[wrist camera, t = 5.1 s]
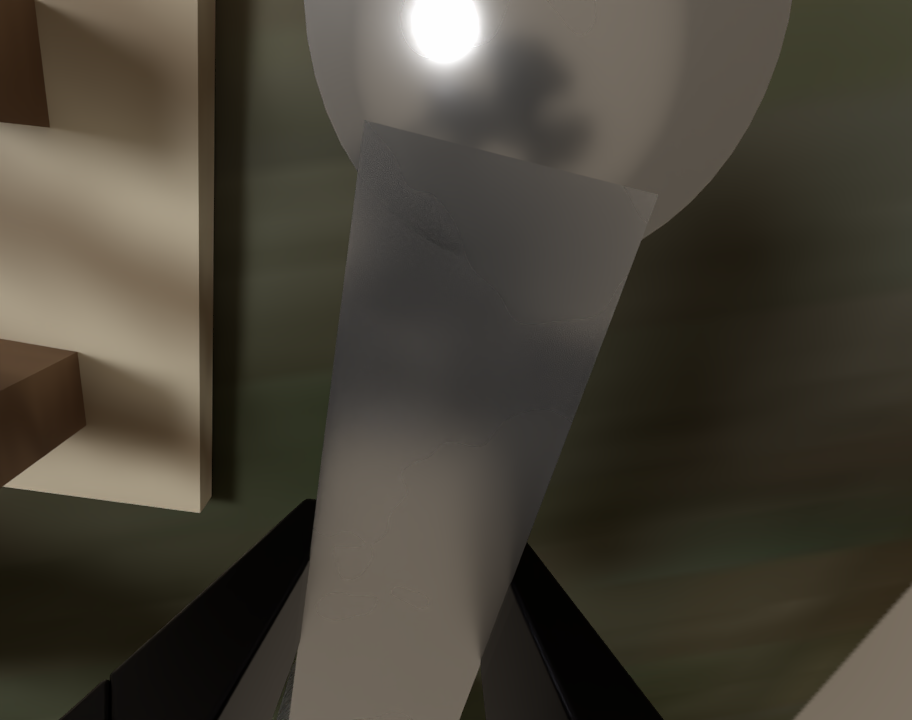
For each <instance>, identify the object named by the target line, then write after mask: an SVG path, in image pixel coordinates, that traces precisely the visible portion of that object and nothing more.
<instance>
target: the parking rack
mask: <svg viewBox="0 0 912 720" xmlns="http://www.w3.org/2000/svg"><path fill="white" fill-rule="evenodd" d="M214 120H215V0H0V488H1V487H10V488H18V489H25V490H32V491H40V492H47V493H55V494H62V495H70V496H77V497H85V498H92V499H99V500H107V501H114V502H122V503H129V504H137V505H144V506H152V507H159V508H166V509H174V510H181V511H189V512H196V513H201V511H202V510H203V508H204V507H205V505H206V504H207V502H208V501H209V500H210V498H211V497H212V382H213V251H214Z"/></svg>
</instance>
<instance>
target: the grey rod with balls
mask: <svg viewBox="0 0 912 720" xmlns="http://www.w3.org/2000/svg"><path fill="white" fill-rule="evenodd" d="M791 3H792V0H304V6H305V17H306V28H307V39H308V44H309V49H310V53H311V58H312V63H313V68H314V73H315V77H316V81H317V84H318V87H319V90H320V93H321V96H322V100H323V103H324V106H325V109H326V112H327V114H328V116H329V118H330V121H331V123H332V125H333V127H334V130H335V132H336V134H337V137H338V139H339V141H340V143H341V145H342V146H343V148H344V150H345V151H346V153H347V155H348V157H349V158H350V160H351V162H352V163H353V165H354V167H355V169H356V170H357V172H358V175H357V183H356V191H355V199H354V207H353V215H352V223H351V231H350V239H349V247H348V255H347V263H346V271H345V278H344V286H343V294H342V302H341V310H340V318H339V326H338V334H337V342H336V350H335V358H334V366H333V374H332V382H331V390H330V398H329V406H328V413H327V421H326V429H325V437H324V445H323V453H322V461H321V469H320V477H319V485H318V493H317V501H316V509H315V517H314V525H313V533H312V541H311V549H310V556H309V557H310V566H309V574H308V582H307V589H306V597H305V605H304V613H303V621H302V629H301V637H300V643H299V646H298V652H297V660H296V662H295V663H294V665H293V667H292V669H291V672H290V675H289V679H288V682H287V685H286V689H285V692H284V696H283V699H282V703H281V706H280V710H279V713H278V716H277V720H459V719H460V717H461V714H462V711H463V709H464V706H465V703H466V701H467V698H468V695H469V693H470V690H471V688H472V685H473V682H474V680H475V677H476V674H477V672H478V669H479V667H480V664H481V658H482V656H483V653H484V650H485V648H486V645H487V642H488V640H489V637H490V634H491V632H492V629H493V626H494V624H495V621H496V618H497V616H498V613H499V611H500V608H501V605H502V603H503V600H504V597H505V595H506V592H507V589H508V587H509V584H510V583H511V582H512V580H513V577H514V574H515V572H516V569H517V566H518V564H519V561H520V558H521V556H522V553H523V551H524V548H525V545H526V543H527V540H528V537H529V535H530V532H531V529H532V527H533V524H534V522H535V519H536V516H537V514H538V511H539V508H540V506H541V503H542V500H543V498H544V495H545V493H546V490H547V487H548V485H549V482H550V479H551V477H552V474H553V471H554V469H555V466H556V464H557V461H558V458H559V456H560V453H561V450H562V448H563V445H564V443H565V440H566V437H567V435H568V432H569V429H570V427H571V424H572V421H573V419H574V416H575V414H576V411H577V408H578V406H579V403H580V400H581V398H582V395H583V392H584V390H585V387H586V385H587V382H588V379H589V377H590V374H591V371H592V369H593V366H594V363H595V361H596V358H597V356H598V353H599V350H600V348H601V345H602V342H603V340H604V337H605V334H606V332H607V329H608V327H609V324H610V321H611V319H612V316H613V313H614V311H615V308H616V305H617V303H618V300H619V298H620V295H621V292H622V290H623V287H624V284H625V282H626V279H627V276H628V274H629V271H630V269H631V266H632V263H633V261H634V258H635V255H636V253H637V250H638V248H639V245H640V242H641V240H642V239H643V238H645V237H646V236H648V235H649V234H651V233H652V232H654V231H655V230H657V229H658V228H660V227H661V226H663V225H664V224H666V223H667V222H668V221H669V220H671V219H672V218H673V217H674V216H675V215H676V214H678V213H679V212H680V211H681V210H682V209H683V208H685V207H686V206H687V205H688V204H689V203H690V202H691V201H692V200H693V199H694V198H695V197H696V196H697V195H698V194H699V193H700V192H701V191H702V190H703V189H704V188H705V186H706V185H707V184H708V183H709V182H710V181H711V180H712V179H713V178H714V176H715V175H716V174H717V172H718V171H719V170H720V168H721V167H722V166H723V165H724V163H725V162H726V161H727V159H728V158H729V157H730V155H731V154H732V153H733V151H734V149H735V148H736V146H737V145H738V143H739V141H740V140H741V138H742V136H743V135H744V133H745V132H746V130H747V128H748V127H749V125H750V123H751V121H752V119H753V117H754V115H755V113H756V111H757V109H758V107H759V105H760V103H761V101H762V99H763V97H764V95H765V93H766V90H767V88H768V85H769V82H770V80H771V77H772V74H773V72H774V69H775V66H776V64H777V61H778V58H779V55H780V51H781V47H782V44H783V40H784V36H785V32H786V29H787V25H788V21H789V16H790V9H791Z"/></svg>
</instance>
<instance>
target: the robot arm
mask: <svg viewBox="0 0 912 720" xmlns="http://www.w3.org/2000/svg"><path fill="white" fill-rule="evenodd" d="M316 501H317V500H315V499H306V500H304V501H303V502H302V503H300V504H299V505H298V506H297V507H296V508H295V509H294V510H293V511H292V512H290V513H289V514H288V515H287V516H286V517H285V518H284V519H283V520H282V521H280V522H279V523H278V524H277V525H276V526H275V527H274V528H273V529H272V530H270V531H269V532H268V533H267V534H266V535H265V536H264V537H263V538H262V539H260V540H259V541H258V542H257V543H256V544H255V545H254V546H253V547H251V548H250V549H249V550H248V551H247V552H246V553H245V554H244V555H243V556H241V557H240V558H239V559H238V560H237V561H236V562H235V563H234V564H233V565H231V566H230V567H229V568H228V569H227V570H226V571H225V572H224V573H223V574H221V575H220V576H219V577H218V578H217V579H216V580H215V581H214V582H212V583H211V584H210V585H209V586H208V587H207V588H206V589H205V590H204V591H202V592H201V593H200V594H199V595H198V596H197V597H196V598H195V599H194V600H192V601H191V602H190V603H189V604H188V605H187V606H186V607H185V608H184V609H182V610H181V611H180V612H179V613H178V614H177V615H176V616H175V617H173V618H172V619H171V620H170V621H169V622H168V623H167V624H166V625H165V626H163V627H162V628H161V629H160V630H159V631H158V632H157V633H156V634H155V635H153V636H152V637H151V638H150V639H149V640H148V641H147V642H146V643H145V644H143V645H142V646H141V647H140V648H139V649H138V650H137V651H136V652H134V653H133V654H132V655H131V656H130V657H129V658H128V659H127V660H126V661H124V662H123V663H122V664H121V665H120V666H119V667H118V668H117V669H116V670H114V671H113V672H112V673H111V675H110V681H109V680H107V679H106V680H103V681H102V682H101V683H99V684H98V685H97V686H96V687H95V688H94V689H93V690H92V691H91V692H89V693H88V694H87V695H86V696H85V697H84V698H83V699H82V700H81V701H80V702H78V703H77V704H76V705H75V706H74V707H73V708H72V709H71V710H70V711H68V712H67V713H66V714H65V715H64V716H63V717H61V718H60V719H59V720H272V717H273V714H274V712H275V709H276V706H277V704H278V701H279V698H280V696H281V693H282V690H283V688H284V685H285V682H286V680H287V677H288V674H289V672H290V669H291V666H292V664H293V661H294V658H295V655H296V652H297V649H298V646H299V643H300V637H301V629H302V621H303V613H304V605H305V597H306V589H307V582H308V574H309V566H310V557H309V556H310V549H311V541H312V533H313V525H314V517H315V509H316ZM481 676H482V687H483V696H484V705H485V714H486V720H664V719H663V718H662V717H661V716H660V714H659V713H658V712H657V710H656V709H655V708H654V706H653V705H652V704H651V703H650V701H649V700H648V699H647V697H646V696H645V695H644V693H643V692H642V691H641V690H640V688H639V687H638V686H637V684H636V683H635V682H634V680H633V679H632V678H631V677H630V675H629V674H628V673H627V671H626V670H625V669H624V668H623V666H622V665H621V664H620V662H619V661H618V660H617V658H616V657H615V656H614V655H613V653H612V652H611V651H610V649H609V648H608V647H607V645H606V644H605V643H604V642H603V640H602V639H601V638H600V636H599V635H598V634H597V632H596V631H595V630H594V629H593V627H592V626H591V625H590V623H589V622H588V621H587V619H586V618H585V617H584V616H583V614H582V613H581V612H580V610H579V609H578V608H577V606H576V605H575V604H574V603H573V601H572V600H571V599H570V597H569V596H568V595H567V593H566V592H565V591H564V590H563V588H562V587H561V586H560V584H559V583H558V582H557V580H556V579H555V578H554V577H553V575H552V574H551V573H550V571H549V570H548V569H547V567H546V566H545V565H544V564H543V562H542V561H541V560H540V558H539V557H538V556H537V554H536V553H535V552H534V551H533V549H532V548H531V547H530V545H529V544H528V543H526V545H525V548H524V551H523V553H522V556H521V558H520V561H519V564H518V566H517V569H516V572H515V574H514V577H513V580H512V582H511V583H510V584H509V587H508V589H507V592H506V595H505V597H504V600H503V603H502V605H501V608H500V611H499V613H498V616H497V618H496V621H495V624H494V626H493V629H492V632H491V634H490V637H489V640H488V642H487V645H486V648H485V650H484V653H483V656H482V658H481Z"/></svg>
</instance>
